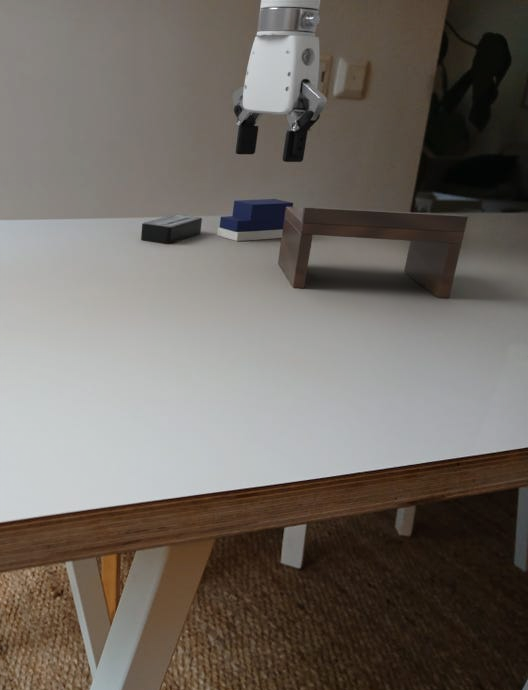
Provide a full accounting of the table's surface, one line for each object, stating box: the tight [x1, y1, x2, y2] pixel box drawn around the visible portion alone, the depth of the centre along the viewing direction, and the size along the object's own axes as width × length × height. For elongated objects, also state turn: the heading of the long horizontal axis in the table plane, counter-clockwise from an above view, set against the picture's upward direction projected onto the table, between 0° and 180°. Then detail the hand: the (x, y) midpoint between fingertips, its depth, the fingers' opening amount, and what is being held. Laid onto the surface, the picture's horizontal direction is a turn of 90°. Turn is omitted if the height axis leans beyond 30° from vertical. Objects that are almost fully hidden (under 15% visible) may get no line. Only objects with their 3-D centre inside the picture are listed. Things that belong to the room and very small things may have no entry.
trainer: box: [216, 198, 294, 242], centre depth 107 cm, size 10×4×5 cm, turn 116°
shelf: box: [277, 206, 469, 299], centre depth 83 cm, size 16×12×9 cm
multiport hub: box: [140, 213, 203, 245], centre depth 105 cm, size 4×11×2 cm, turn 145°
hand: (267, 157), depth 105 cm, fingers open, 9 cm apart
